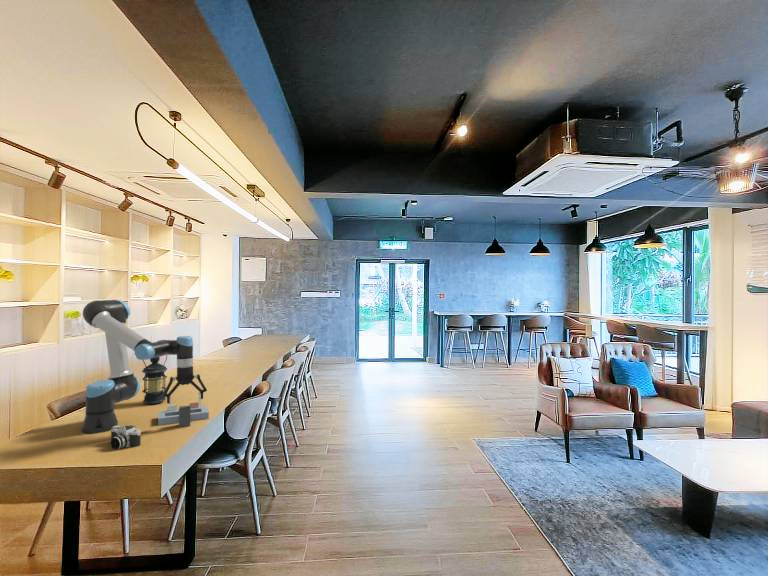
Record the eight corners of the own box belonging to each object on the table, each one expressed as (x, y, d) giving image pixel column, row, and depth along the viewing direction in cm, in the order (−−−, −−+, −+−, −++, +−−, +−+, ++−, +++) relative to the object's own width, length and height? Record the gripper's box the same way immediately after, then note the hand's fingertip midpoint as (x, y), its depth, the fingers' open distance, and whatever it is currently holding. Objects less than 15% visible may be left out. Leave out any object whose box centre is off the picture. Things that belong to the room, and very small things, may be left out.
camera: (99, 448, 179) (99, 426, 179) (117, 441, 188) (117, 420, 188) (126, 453, 174) (126, 430, 174) (143, 446, 183) (144, 424, 183)
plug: (179, 428, 205) (179, 409, 205) (179, 425, 209) (179, 406, 209) (190, 427, 207) (190, 407, 207) (189, 424, 212) (189, 405, 212)
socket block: (158, 426, 208) (158, 413, 208) (158, 418, 220) (158, 405, 220) (208, 419, 219) (208, 406, 219) (206, 412, 232) (206, 400, 232)
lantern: (137, 406, 243) (137, 348, 243) (147, 400, 256) (147, 345, 256) (162, 405, 244) (162, 347, 244) (171, 399, 258) (171, 344, 258)
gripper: (157, 370, 199) (157, 413, 199) (212, 365, 211) (212, 405, 211) (157, 367, 206) (157, 409, 206) (210, 362, 218) (210, 402, 218)
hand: (185, 407), depth 208 cm, fingers open, 13 cm apart
